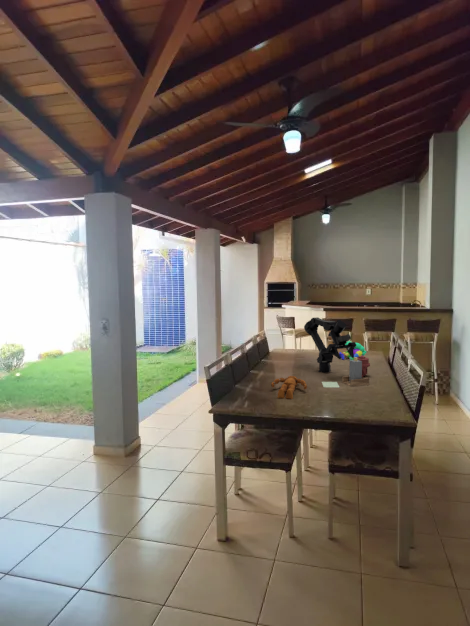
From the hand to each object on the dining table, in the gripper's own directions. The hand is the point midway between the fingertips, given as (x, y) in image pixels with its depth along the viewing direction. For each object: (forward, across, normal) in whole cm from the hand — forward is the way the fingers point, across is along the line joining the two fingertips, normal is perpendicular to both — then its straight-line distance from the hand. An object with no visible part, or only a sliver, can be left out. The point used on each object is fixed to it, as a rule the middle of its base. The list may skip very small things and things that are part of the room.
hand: (346, 358), depth 250 cm
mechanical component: (+5, +16, +14) cm, 22 cm away
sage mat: (+13, -15, +6) cm, 21 cm away
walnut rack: (+16, 0, +4) cm, 16 cm away
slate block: (+15, 0, +3) cm, 15 cm away
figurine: (-28, +43, +48) cm, 70 cm away
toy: (+15, -42, +5) cm, 45 cm away
